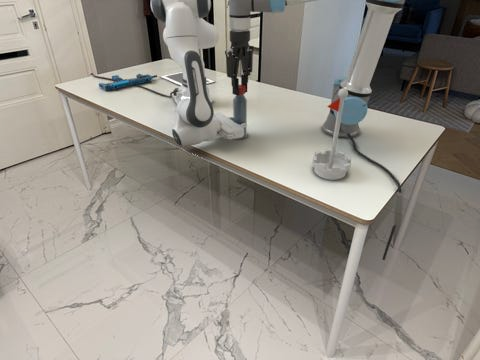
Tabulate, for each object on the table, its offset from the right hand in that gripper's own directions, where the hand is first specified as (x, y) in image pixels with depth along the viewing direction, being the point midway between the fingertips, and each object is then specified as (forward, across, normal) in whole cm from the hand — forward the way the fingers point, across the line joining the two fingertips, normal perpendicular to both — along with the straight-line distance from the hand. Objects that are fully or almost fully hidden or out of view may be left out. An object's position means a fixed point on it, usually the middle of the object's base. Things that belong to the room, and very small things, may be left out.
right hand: (240, 92), depth 135 cm
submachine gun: (+19, -6, -102) cm, 104 cm away
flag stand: (+19, -1, +43) cm, 47 cm away
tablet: (+19, -36, -80) cm, 90 cm away
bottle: (+19, 0, 0) cm, 19 cm away
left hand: (+12, -1, 0) cm, 12 cm away
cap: (0, 0, 0) cm, 0 cm away
